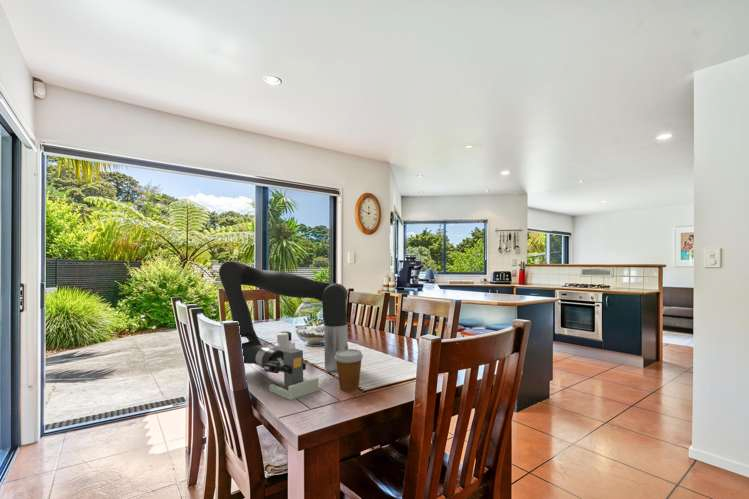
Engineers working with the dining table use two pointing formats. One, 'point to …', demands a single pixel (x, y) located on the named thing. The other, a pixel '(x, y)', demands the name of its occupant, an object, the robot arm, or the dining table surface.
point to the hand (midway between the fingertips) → (298, 368)
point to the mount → (297, 389)
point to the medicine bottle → (284, 341)
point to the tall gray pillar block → (293, 366)
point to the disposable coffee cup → (348, 369)
